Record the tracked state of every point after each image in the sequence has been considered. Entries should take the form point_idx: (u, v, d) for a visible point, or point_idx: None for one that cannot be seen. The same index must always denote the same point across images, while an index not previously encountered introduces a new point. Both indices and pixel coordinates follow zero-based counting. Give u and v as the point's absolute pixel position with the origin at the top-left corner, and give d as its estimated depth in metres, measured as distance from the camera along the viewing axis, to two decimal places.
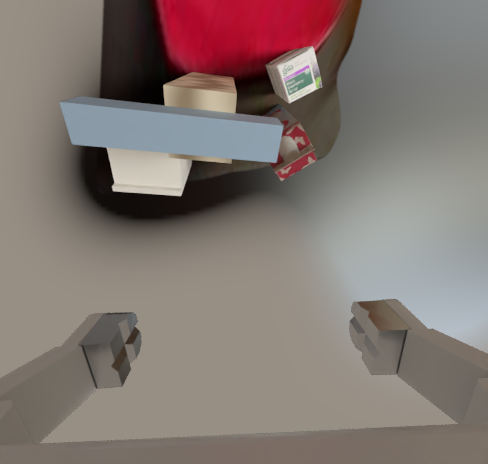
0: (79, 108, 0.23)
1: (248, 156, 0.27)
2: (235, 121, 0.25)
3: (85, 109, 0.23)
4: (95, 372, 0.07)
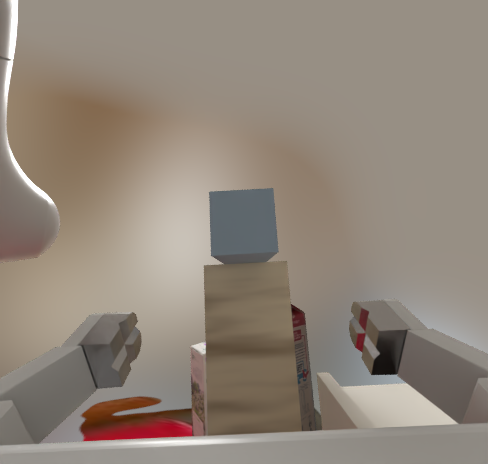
0: None
1: None
2: None
3: None
4: (95, 372, 0.07)
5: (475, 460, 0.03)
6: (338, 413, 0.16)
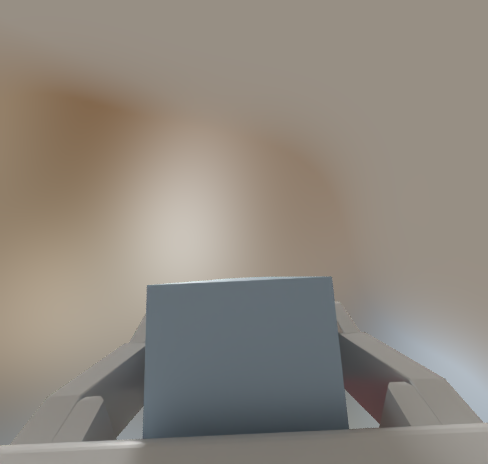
0: (185, 282, 0.07)
1: None
2: None
3: None
4: None
5: (475, 460, 0.03)
6: None
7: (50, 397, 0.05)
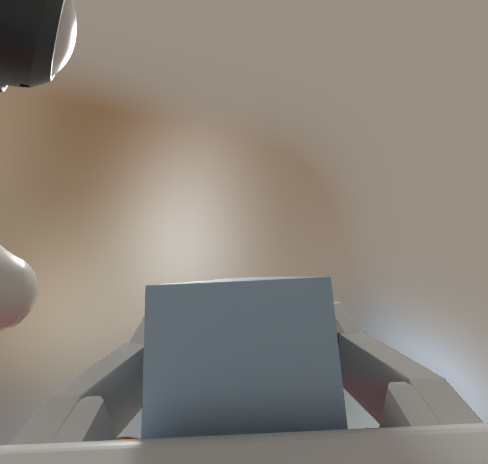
0: None
1: None
2: None
3: None
4: None
5: (475, 460, 0.03)
6: None
7: (50, 396, 0.05)
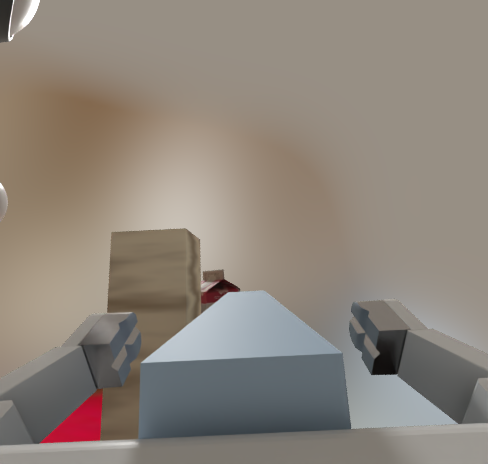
0: (183, 339, 0.06)
1: (262, 292, 0.23)
2: (224, 296, 0.21)
3: (189, 334, 0.07)
4: (95, 372, 0.07)
5: (475, 460, 0.03)
6: None
7: None
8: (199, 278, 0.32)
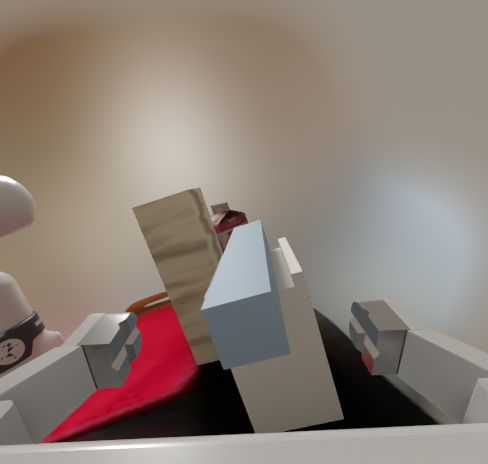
0: (212, 293, 0.15)
1: (258, 225, 0.31)
2: (231, 236, 0.30)
3: (214, 289, 0.15)
4: (95, 372, 0.07)
5: (475, 460, 0.03)
6: None
7: None
8: (209, 219, 0.40)
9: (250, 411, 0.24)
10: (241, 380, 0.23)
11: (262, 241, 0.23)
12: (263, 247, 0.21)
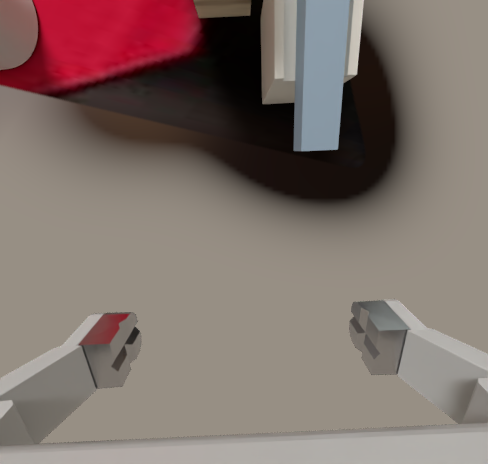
0: (305, 134, 0.26)
1: None
2: None
3: (306, 128, 0.25)
4: (95, 372, 0.07)
5: (475, 460, 0.03)
6: (273, 0, 0.25)
7: None
8: None
9: (265, 100, 0.39)
10: (270, 95, 0.35)
11: (345, 35, 0.23)
12: (343, 60, 0.23)
